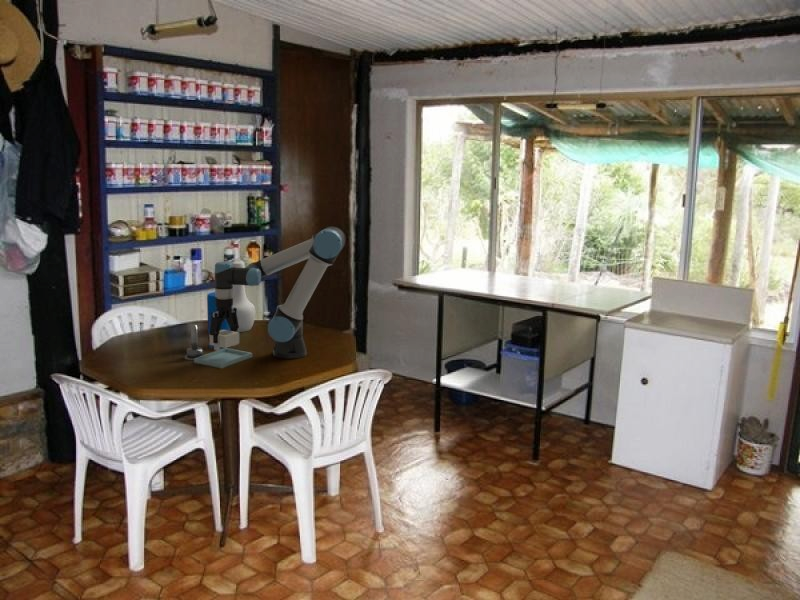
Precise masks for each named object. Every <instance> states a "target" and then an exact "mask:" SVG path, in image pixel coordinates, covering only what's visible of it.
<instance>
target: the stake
mask: <svg viewBox="0 0 800 600" xmlns="http://www.w3.org/2000/svg"><path fill="white" fill-rule="evenodd" d="M198 332H199V331H198V324H196V323H194V324H193V323H192V324H190V339H191V341H190V342H191V347H188V348H186V355H184V360H186V361H193V362H194V358H197V357H200V356H203V355H205V354H204V348H203V347H201V346H199V339H198V338H199V337H198V336H199V335H198V334H199V333H198Z"/></svg>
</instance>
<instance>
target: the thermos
mask: <svg viewBox="0 0 800 600" xmlns="http://www.w3.org/2000/svg"><path fill="white" fill-rule="evenodd" d="M206 296H207V297H206V301H207V302H206V303H207V304H206V305H207V311H206V312H207V334H208V335H207V337H208V338H207V339H208V347H209V348H210V349H214V346H213V345H210V336H209V333H210V326H211V319H212V316H211V313H212V312H216V310H217V307H216V306H215V299H216V297H215V291H214V292H209V293H207V295H206ZM219 319H220V318H219ZM220 330H228V331H231V330H230V327H229V325H228V323H227V320H226V319H224V321H223V322H222V325H221V329H220ZM212 333H213V332H212ZM230 347H232V346H230ZM230 347H229V348H230ZM227 348H228V347H227ZM221 349H224V348H223V347H220V350H221Z"/></svg>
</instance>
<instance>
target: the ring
mask: <svg viewBox="0 0 800 600" xmlns="http://www.w3.org/2000/svg"><path fill="white" fill-rule="evenodd" d="M209 336H210V345H213V346H214V343H213V335H210V334H209ZM218 336H220V347H223V348H227V347H229V348H230V346H231V347H234V346H233V345H235V346H236V345H239V344H240V332H234V331H228V330H220V332H219V335H218Z"/></svg>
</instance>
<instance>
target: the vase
mask: <svg viewBox="0 0 800 600" xmlns="http://www.w3.org/2000/svg"><path fill="white" fill-rule="evenodd" d="M231 263H232V264H233V267H236V268H245V263H244V262H242V261H234V262H231ZM245 286H246V285H233V297H232V298H233V306H232V307H233V308H237V312H236V313H237V319H238V325H239V328H238V330H237V331H235V332H239V333H244V332H249V331H251V329H252V327H253V325H254V323H255V319H256V308H255V305H254V304H253V303H252V302H251V301H250V300H249V299H248V296H247V294H246V290H245V289H246V288H245ZM235 326H236V325H235Z"/></svg>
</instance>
